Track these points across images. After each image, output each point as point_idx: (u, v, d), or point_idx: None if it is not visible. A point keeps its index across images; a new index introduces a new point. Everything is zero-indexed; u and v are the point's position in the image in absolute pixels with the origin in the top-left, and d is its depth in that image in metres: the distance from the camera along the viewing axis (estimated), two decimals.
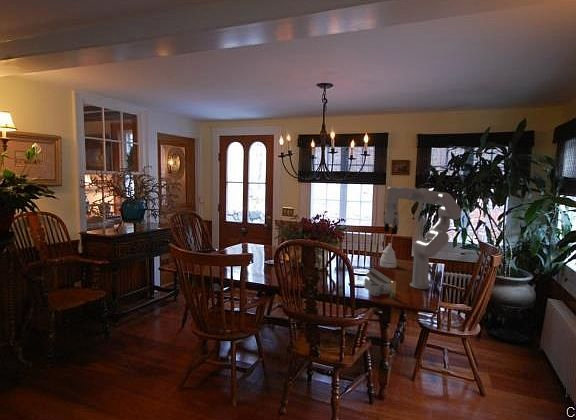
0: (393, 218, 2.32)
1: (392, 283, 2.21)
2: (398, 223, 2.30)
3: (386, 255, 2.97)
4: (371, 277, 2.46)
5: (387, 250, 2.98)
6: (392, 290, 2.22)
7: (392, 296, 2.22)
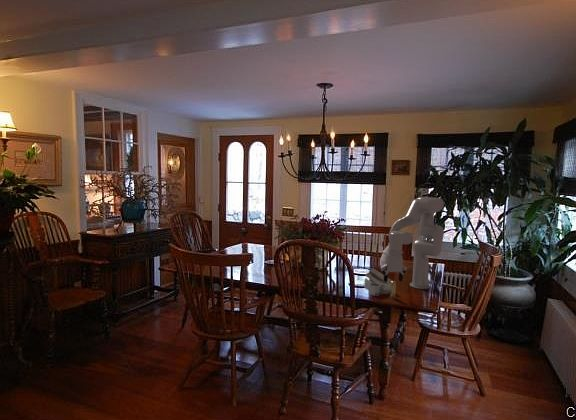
0: None
1: (392, 283, 2.21)
2: None
3: (386, 255, 2.97)
4: (371, 277, 2.46)
5: (387, 250, 2.98)
6: (392, 290, 2.22)
7: (392, 296, 2.22)
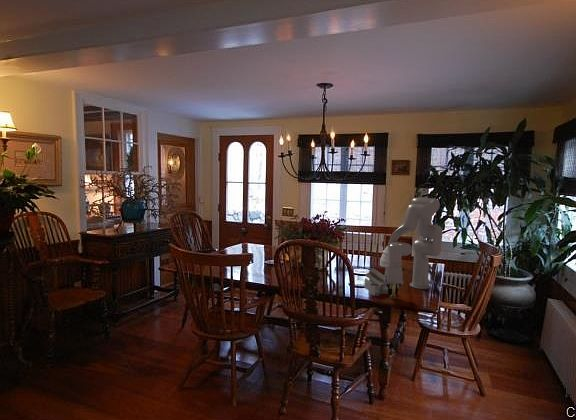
0: None
1: None
2: (401, 283, 2.25)
3: (386, 255, 2.97)
4: (371, 277, 2.46)
5: (387, 250, 2.98)
6: (392, 290, 2.22)
7: (392, 296, 2.22)
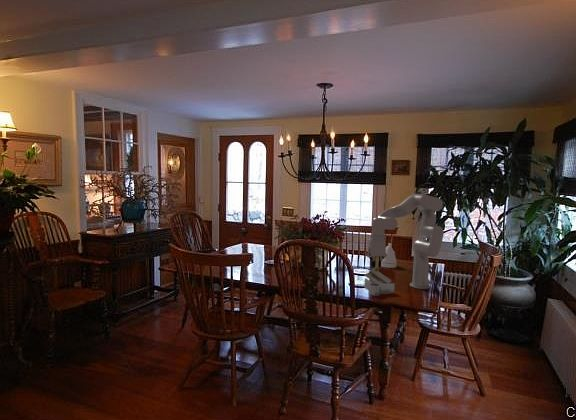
0: None
1: (375, 256, 2.26)
2: (385, 256, 2.29)
3: None
4: (370, 277, 2.46)
5: (387, 250, 2.98)
6: (375, 263, 2.26)
7: (375, 269, 2.26)
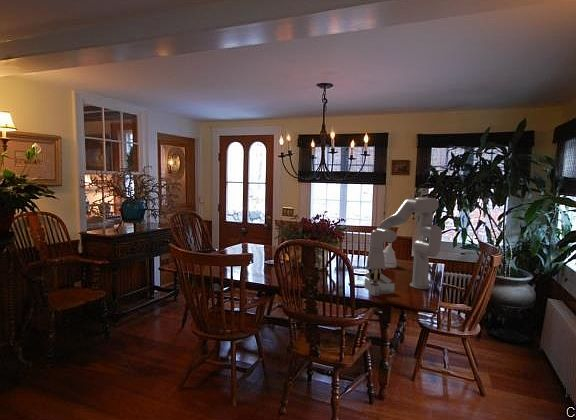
0: None
1: None
2: (383, 268, 2.30)
3: (386, 255, 2.97)
4: None
5: (387, 250, 2.98)
6: (374, 275, 2.27)
7: (374, 281, 2.27)
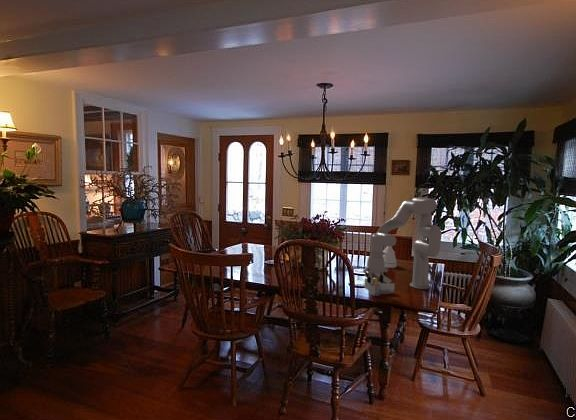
0: None
1: (374, 280, 2.27)
2: (386, 270, 2.30)
3: (386, 255, 2.97)
4: None
5: (387, 250, 2.98)
6: None
7: None
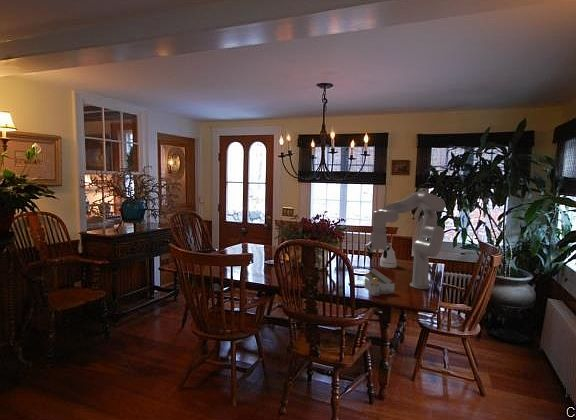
0: None
1: (374, 280, 2.27)
2: None
3: None
4: (370, 277, 2.45)
5: None
6: None
7: None
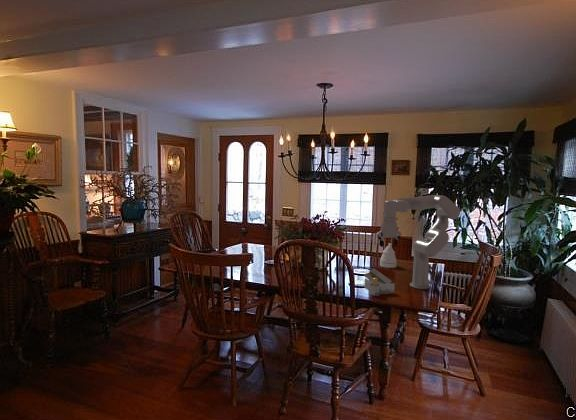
0: None
1: (374, 280, 2.27)
2: None
3: (386, 255, 2.97)
4: (369, 277, 2.45)
5: (387, 250, 2.98)
6: None
7: None
